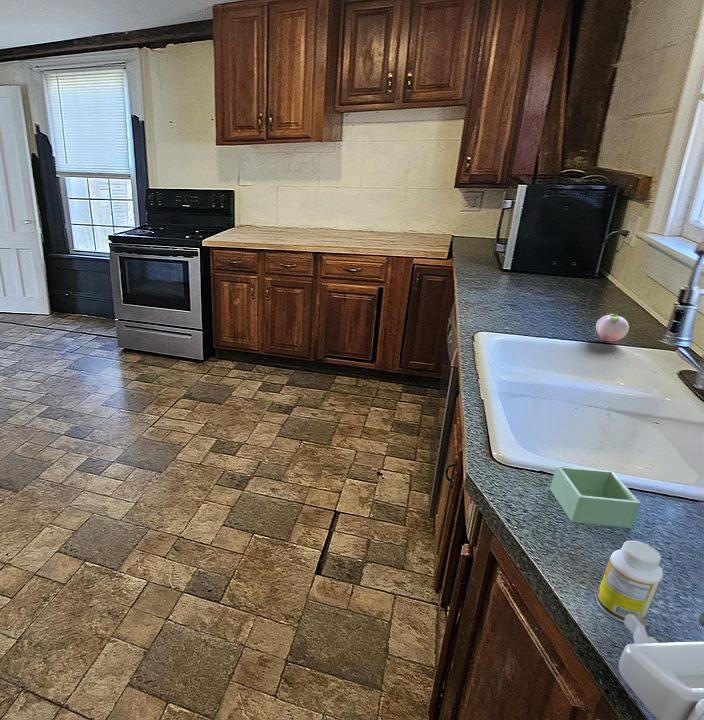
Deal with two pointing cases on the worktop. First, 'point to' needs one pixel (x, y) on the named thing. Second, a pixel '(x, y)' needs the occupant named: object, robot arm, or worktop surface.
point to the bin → (594, 497)
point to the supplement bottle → (630, 581)
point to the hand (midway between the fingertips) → (668, 616)
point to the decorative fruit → (612, 327)
